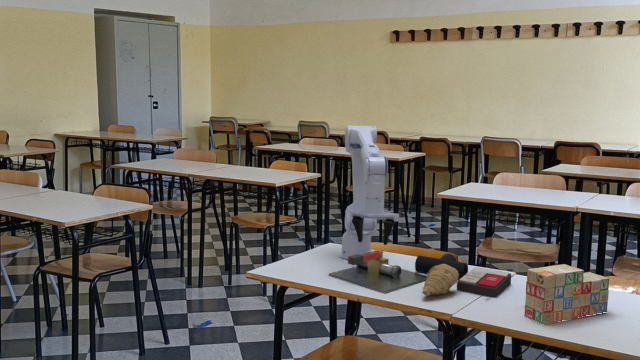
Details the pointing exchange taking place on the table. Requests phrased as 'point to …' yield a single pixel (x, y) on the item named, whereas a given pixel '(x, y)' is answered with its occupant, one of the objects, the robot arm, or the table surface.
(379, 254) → the lever
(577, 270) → the stack of blocks
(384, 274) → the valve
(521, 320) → the table surface
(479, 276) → the calculator
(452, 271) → the seashell
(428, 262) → the pipe connector
